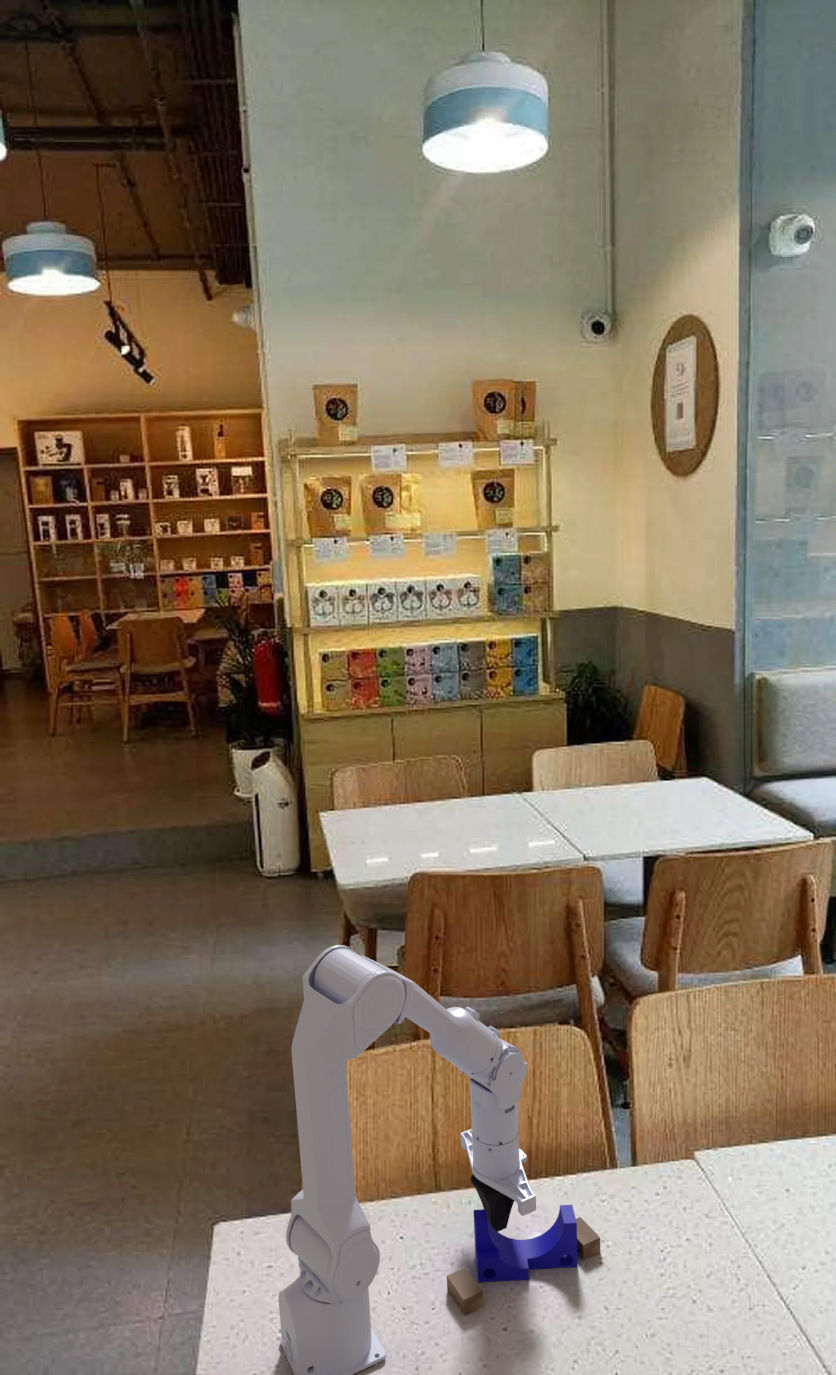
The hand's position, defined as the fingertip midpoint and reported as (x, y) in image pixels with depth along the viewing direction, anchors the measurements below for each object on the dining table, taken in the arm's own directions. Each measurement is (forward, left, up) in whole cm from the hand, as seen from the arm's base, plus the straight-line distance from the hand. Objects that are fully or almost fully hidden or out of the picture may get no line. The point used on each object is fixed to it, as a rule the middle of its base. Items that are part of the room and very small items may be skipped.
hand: (498, 1228), depth 118 cm
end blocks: (0, -6, -1) cm, 6 cm away
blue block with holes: (+1, -5, -2) cm, 6 cm away
